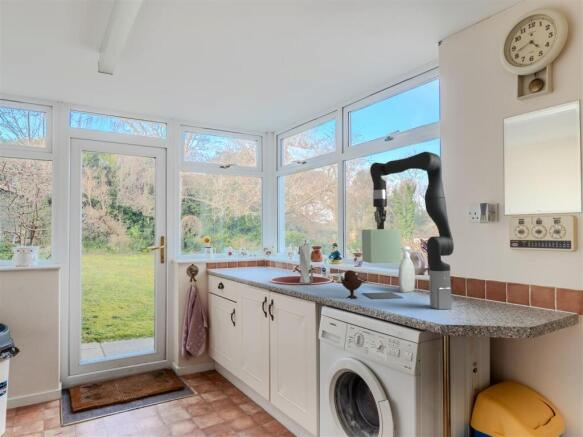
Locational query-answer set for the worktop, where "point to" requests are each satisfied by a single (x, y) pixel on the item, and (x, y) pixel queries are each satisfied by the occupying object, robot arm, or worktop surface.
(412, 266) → the soap bottle
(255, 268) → the worktop surface
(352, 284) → the ice cream bowl
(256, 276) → the worktop surface
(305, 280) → the white pillar candle
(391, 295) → the mat
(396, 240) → the cover
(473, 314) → the worktop surface
